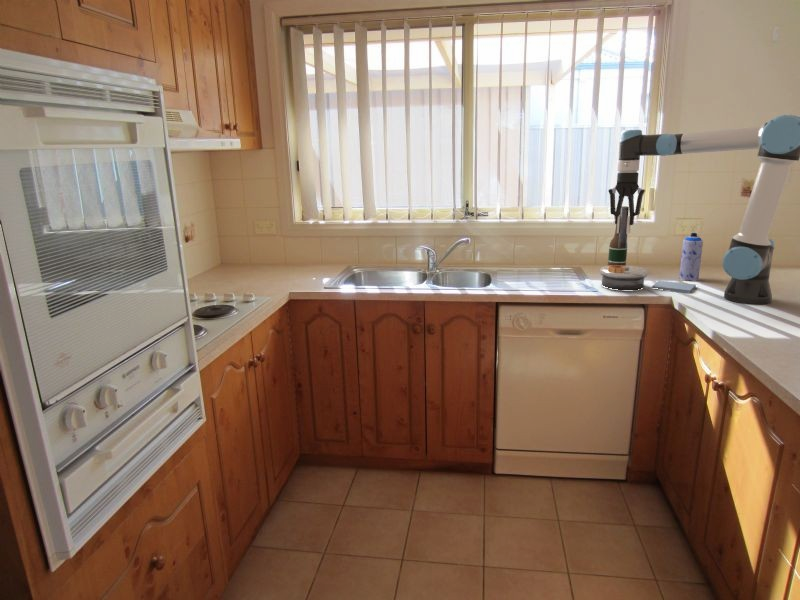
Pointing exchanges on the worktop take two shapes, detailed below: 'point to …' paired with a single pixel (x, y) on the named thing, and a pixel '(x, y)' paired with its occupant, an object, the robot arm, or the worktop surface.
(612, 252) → the beer bottle
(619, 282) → the cylinder
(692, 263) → the aerosol can
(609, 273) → the disc
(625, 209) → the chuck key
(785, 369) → the worktop surface
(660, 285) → the plate
